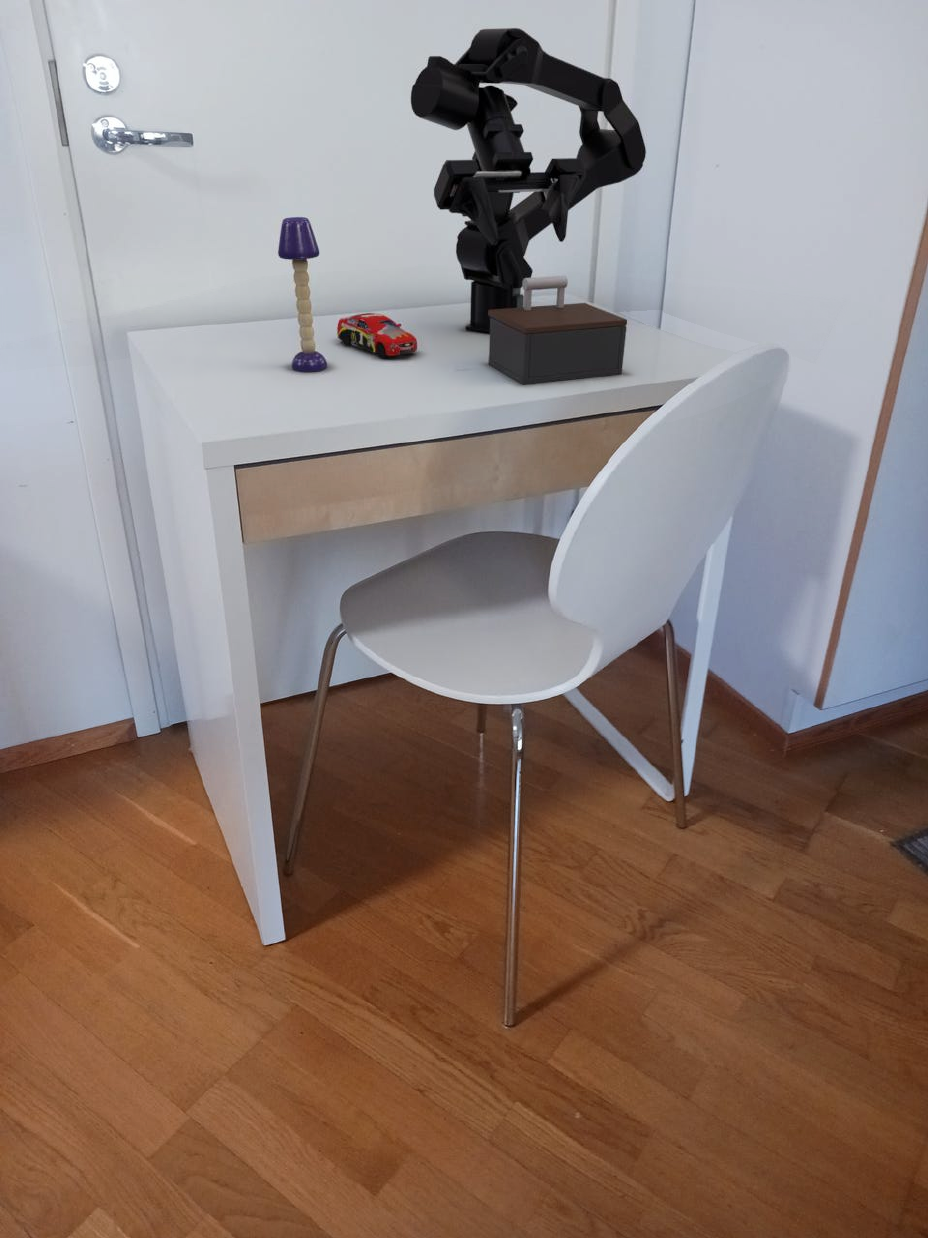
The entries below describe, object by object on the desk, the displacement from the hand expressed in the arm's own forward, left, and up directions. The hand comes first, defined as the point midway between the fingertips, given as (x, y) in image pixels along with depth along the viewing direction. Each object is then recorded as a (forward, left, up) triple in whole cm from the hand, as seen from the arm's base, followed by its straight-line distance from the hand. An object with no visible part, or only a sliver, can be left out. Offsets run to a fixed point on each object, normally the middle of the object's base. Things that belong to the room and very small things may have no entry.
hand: (529, 241), depth 116 cm
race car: (-18, -7, -14) cm, 24 cm away
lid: (+6, -5, -8) cm, 11 cm away
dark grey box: (+6, -6, -14) cm, 16 cm away
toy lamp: (-21, -19, -14) cm, 31 cm away
